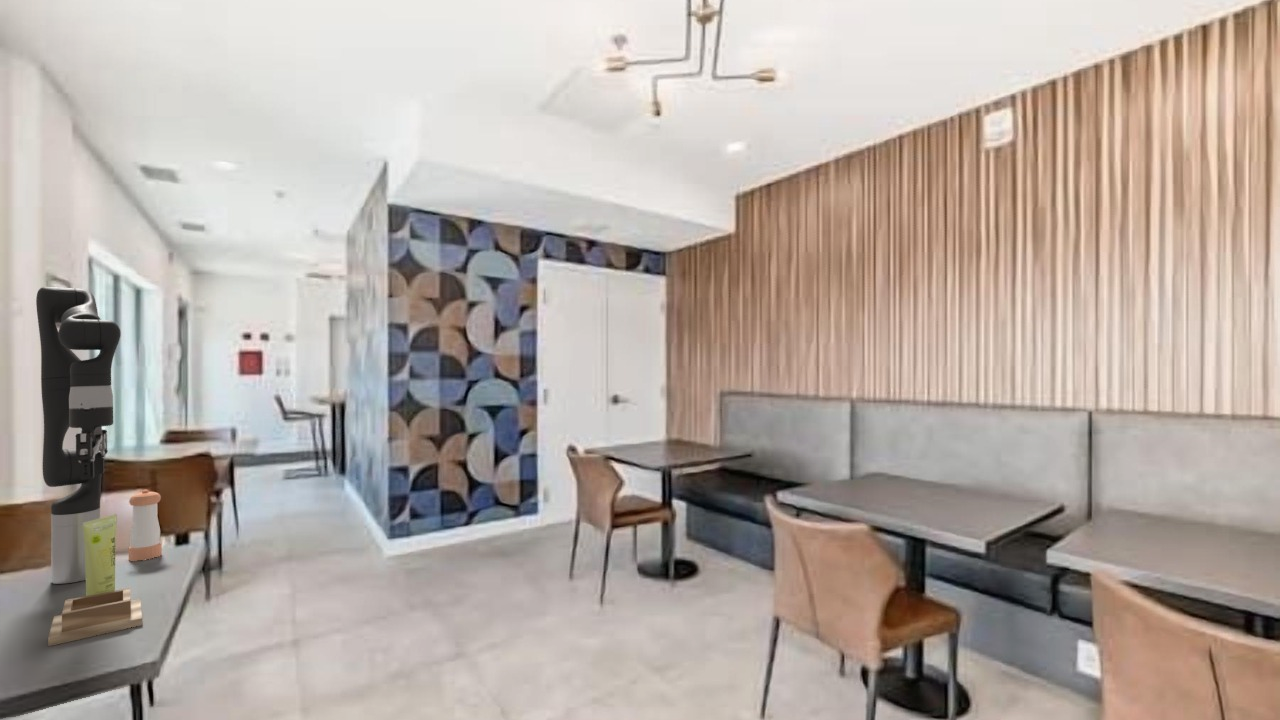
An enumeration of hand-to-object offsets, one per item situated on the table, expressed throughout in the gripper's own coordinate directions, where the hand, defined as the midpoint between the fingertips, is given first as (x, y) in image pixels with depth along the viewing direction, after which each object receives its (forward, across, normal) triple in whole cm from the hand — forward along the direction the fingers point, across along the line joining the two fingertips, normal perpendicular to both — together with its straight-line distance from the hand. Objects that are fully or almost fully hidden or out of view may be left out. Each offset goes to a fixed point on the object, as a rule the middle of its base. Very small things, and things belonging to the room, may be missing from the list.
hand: (92, 476), depth 139 cm
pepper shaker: (+28, -37, +3) cm, 47 cm away
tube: (+29, +1, +1) cm, 29 cm away
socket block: (+29, +16, +4) cm, 33 cm away
